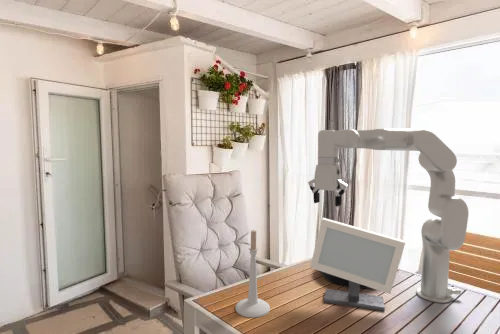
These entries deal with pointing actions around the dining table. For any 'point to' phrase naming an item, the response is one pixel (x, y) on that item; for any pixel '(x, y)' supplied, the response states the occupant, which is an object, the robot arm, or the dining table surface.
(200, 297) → the dining table surface
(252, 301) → the candlestick
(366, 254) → the picture frame
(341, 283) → the round tray
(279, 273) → the dining table surface
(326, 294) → the frame stand
